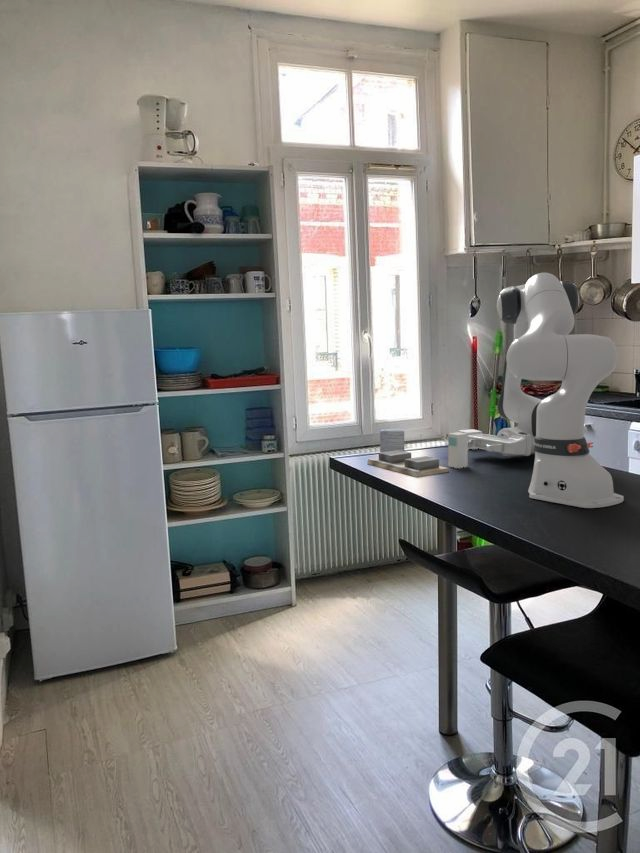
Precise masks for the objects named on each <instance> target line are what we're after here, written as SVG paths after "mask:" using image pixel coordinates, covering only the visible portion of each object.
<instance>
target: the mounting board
mask: <svg viewBox="0 0 640 853" xmlns="http://www.w3.org/2000/svg"><path fill="white" fill-rule="evenodd" d="M367 465H370V466H375V467H378V468H381V469H384V470H389V471H392V472H396V473H401V474H404V475H406V476H407V475H408V476H411V477H415V478H417V477H424V476H430V475H436V474H443V473H448V472H450V467H445V466H441V465H440V458H436V457H431V456H427V455H426V456H425V455H424V456H417V457H412V452H410V451H405V450H404V451H401V450H397V451H389V452H382V453H380V452H378V458H377V459H376V458H367Z"/></svg>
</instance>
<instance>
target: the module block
mask: <svg viewBox="0 0 640 853" xmlns="http://www.w3.org/2000/svg"><path fill="white" fill-rule="evenodd" d="M447 440H448V441H447V442H448V444H447V445H448V447H447V450H448V452H447V453H448V454H447V455H448V458H447V460H448V463H447V464H448V465H447V467H448V468H453V467H454V468H453V469H457V468H458V469H464V468H468V467H469V466H468V465H469V464H468V462H469V461H468V456H469V455H468V454H469V452H468V451H469V450H468V434H466V433H460V432H458V431H456V432H450V433H449V432H448V438H447ZM463 467H464V468H463Z"/></svg>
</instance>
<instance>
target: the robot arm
mask: <svg viewBox="0 0 640 853" xmlns="http://www.w3.org/2000/svg"><path fill="white" fill-rule="evenodd" d="M579 305H580V294H579V292H578V289H577V286H576V285H575V284H574V283H573V282H571V281H563V280H561V281H560V279H559V278H558V277H557V276H555V275H554V274H552V273H549V272H540V273H536V274H534V275H532V276H531V277H530V278H529V279H528V280H526V282H525V284H521V285H516V286H514V285H512V286H511V285H510V286H508V287H505V288H503V289H502V290H501V291H500V292H499V294H498V297H497V300H496V310H497V313H498V316H499V318H500V320H501V321H502V322H503V323H505V324H511V325H513V340H512V342H511V344H510V345H509V347H508V350H507V352H506V355H505V358H504V364H503V373H502V382H501V389H500V390H501V392H500V395H499V398H498V401H497V411H498V415H499V416H500V417H501V418H502V419H504V420H508V421H511V422H514V423H516V424H517V426H510V427H504V428H501V429H500V430H498V432H497V435H494V434H487V433H482V434H476V435H468V447H474V448H479V449H480V450H484V451H485V450H486V452H495V453H500V455H502V456H504V457H516V456H522V457H529V456H531V453H534V462H533V469H532V470H533V471H532V474H531V480H530V483H529V484H530V485H529V487H528V490H527V492H528V494H529V496H528V497H529V499H535V500H538V501H539V500H540V501H545V502H549V503H556V504H562V505H566V506H572V507H578V508H584V509H595V508H597V509H598V508H605V507H611V506H615V505H619V504H621V503H623V502H624V500H625V499H624V495H621V494H618V493H616V492H614V481H613V477H612V474H611V472H609V471H608V470H606V468H604V467H603V465H601V464H600V463H599V462H598V461H597V460H596V459H595V458H594V457H593V456H592V455H591V454H590V448H594V446H593V444H594V442H587V440H586V437H584V434H585V432H584V431H585V419H586V409H587V405H588V402H589V400H590V397H591V395H592V393H593V392H594V390H595V389H596V388H597V386H598V385H599V384H600V383H601V382H602V381H603V380H604V379H606V378H607V377H609V376H610V375H611V374H612V373H613V372H614V370H615V369H616V367H617V365H618V362H619V361H618V360H619V351H618V348H617V346H616V344H615V342H614V341H613V340H612V338H610V337H609V336H603V335H597V334H591V333H590V334H589V333H584V334H583V333H582V334H581V333H579V334H575V333H574V334H570V333H571V332H572V330H573V329H574V326H575V322H576V321H575V315H576V313H577V312H578V308H579ZM522 380H525V381H526V380H527V381H533V382H537V381H542V382H543V381H544V382H545V381H561V386H560V387H559V388H558V390H557V391H556V392H555V393H553V394H550V395H548V396H547V397H544V399H541V398H538V397H535V396H532V395H529V394H527V393H525V392H524V391H523V390H522V388H521V384H522ZM479 449H478V450H479Z"/></svg>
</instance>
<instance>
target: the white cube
mask: <svg viewBox="0 0 640 853" xmlns="http://www.w3.org/2000/svg"><path fill="white" fill-rule="evenodd" d="M457 432H460V433H466V434H468V435H476V434H483V431H481V430H478V429H473V428H471V429H469V428H468V429H461V430H457ZM469 449H472V450H479V449H478V448H474V447H468V451H469Z"/></svg>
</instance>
